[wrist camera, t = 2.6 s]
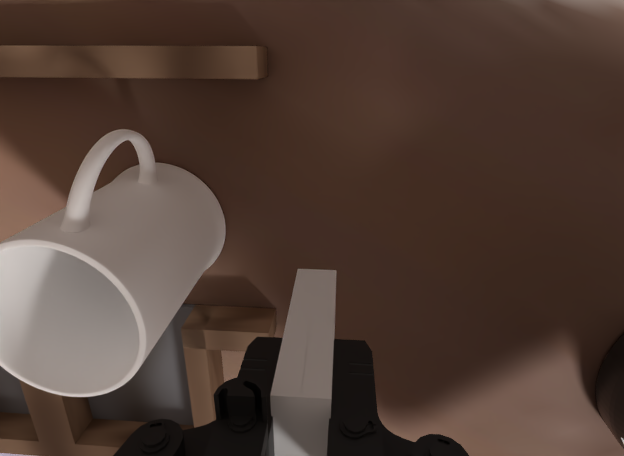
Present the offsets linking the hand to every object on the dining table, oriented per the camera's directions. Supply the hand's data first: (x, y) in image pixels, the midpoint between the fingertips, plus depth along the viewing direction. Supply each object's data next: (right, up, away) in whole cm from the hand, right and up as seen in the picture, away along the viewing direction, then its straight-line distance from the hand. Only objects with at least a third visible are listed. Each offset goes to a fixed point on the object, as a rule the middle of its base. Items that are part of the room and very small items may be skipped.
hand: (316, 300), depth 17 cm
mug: (-10, +5, +12) cm, 16 cm away
